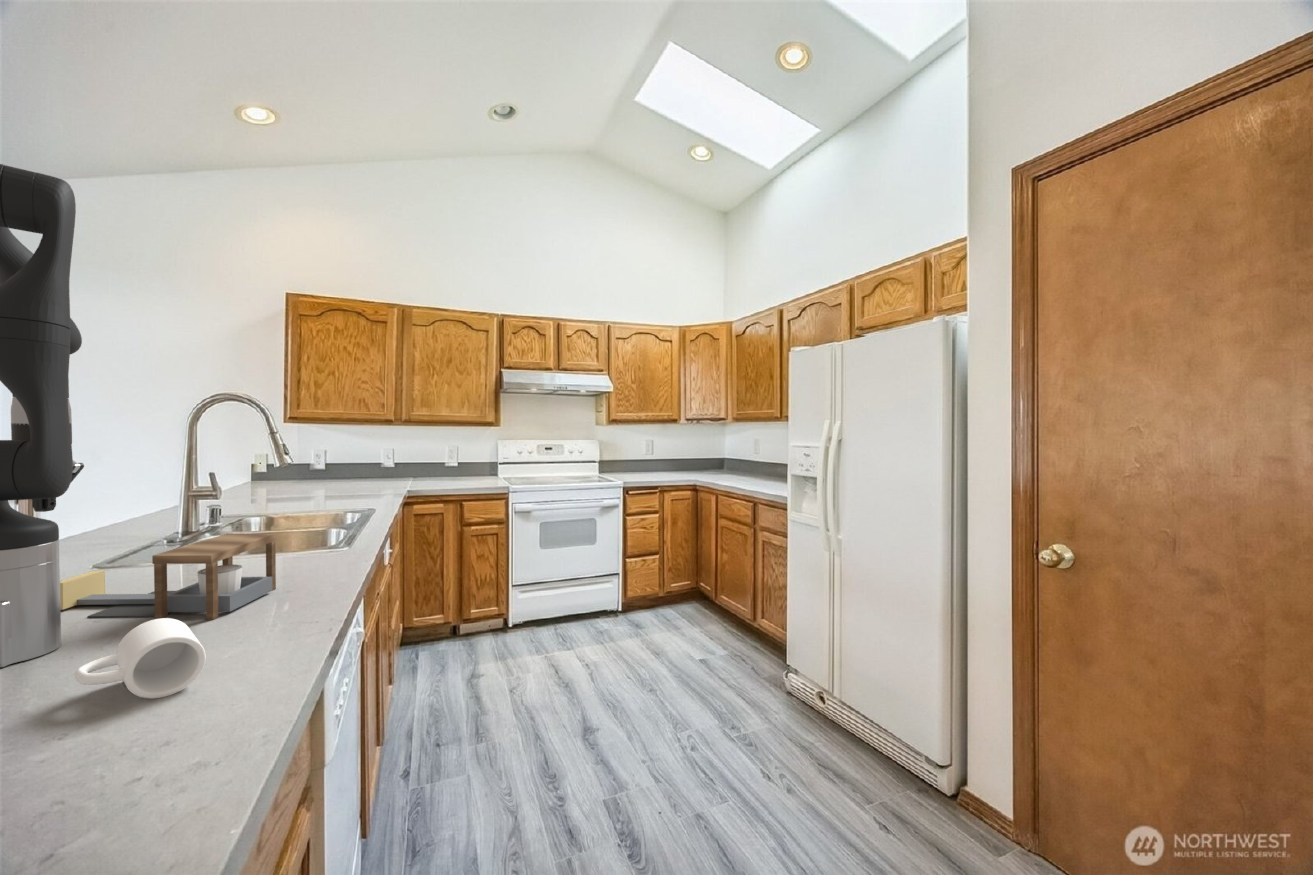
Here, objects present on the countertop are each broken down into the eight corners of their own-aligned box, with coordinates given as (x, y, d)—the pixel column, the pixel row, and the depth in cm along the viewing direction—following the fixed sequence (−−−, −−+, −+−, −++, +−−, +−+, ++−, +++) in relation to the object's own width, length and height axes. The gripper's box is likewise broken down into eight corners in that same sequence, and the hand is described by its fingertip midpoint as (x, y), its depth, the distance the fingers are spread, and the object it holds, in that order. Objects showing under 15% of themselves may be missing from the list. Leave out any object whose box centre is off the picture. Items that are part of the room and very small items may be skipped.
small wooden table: (211, 620, 94) (211, 555, 94) (153, 621, 94) (152, 555, 93) (276, 588, 112) (276, 533, 112) (228, 588, 112) (227, 533, 111)
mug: (192, 663, 79) (191, 611, 78) (206, 685, 72) (205, 629, 72) (73, 694, 69) (71, 636, 69) (77, 723, 63) (76, 658, 63)
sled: (230, 611, 97) (229, 585, 97) (39, 613, 95) (39, 586, 95) (272, 590, 109) (272, 567, 109) (104, 591, 107) (104, 567, 107)
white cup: (251, 598, 106) (251, 564, 106) (220, 610, 99) (219, 574, 99) (221, 596, 107) (220, 563, 107) (187, 608, 100) (187, 572, 100)
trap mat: (157, 617, 96) (157, 615, 96) (87, 617, 95) (87, 616, 95) (215, 591, 110) (215, 590, 110) (155, 592, 109) (155, 590, 109)
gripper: (-20, 421, 95) (-17, 514, 96) (58, 422, 96) (60, 515, 97) (26, 420, 103) (29, 507, 103) (98, 422, 104) (100, 507, 104)
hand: (44, 510), depth 100 cm, fingers closed
